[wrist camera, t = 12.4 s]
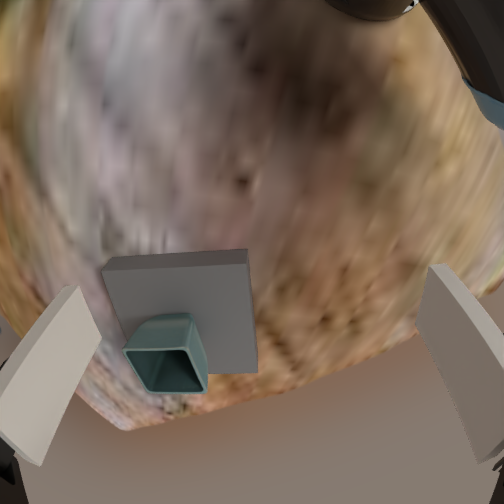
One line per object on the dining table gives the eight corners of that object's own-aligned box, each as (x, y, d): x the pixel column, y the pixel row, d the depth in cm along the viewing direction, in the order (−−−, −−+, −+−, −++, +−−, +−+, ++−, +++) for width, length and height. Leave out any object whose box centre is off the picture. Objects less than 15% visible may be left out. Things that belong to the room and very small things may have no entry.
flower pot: (161, 350, 45) (147, 394, 37) (141, 305, 41) (119, 349, 33) (215, 346, 44) (208, 394, 36) (200, 299, 40) (187, 346, 32)
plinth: (247, 248, 41) (246, 263, 38) (257, 355, 50) (257, 372, 47) (111, 257, 42) (100, 271, 39) (146, 355, 52) (140, 371, 48)
